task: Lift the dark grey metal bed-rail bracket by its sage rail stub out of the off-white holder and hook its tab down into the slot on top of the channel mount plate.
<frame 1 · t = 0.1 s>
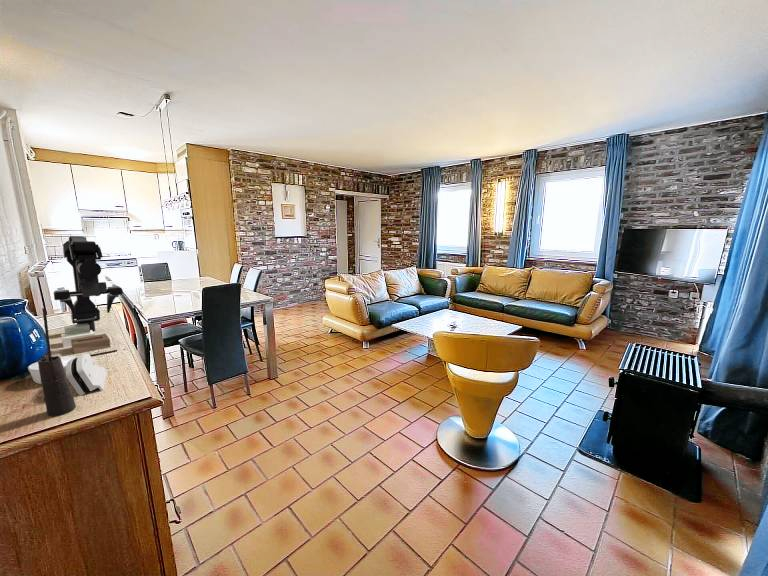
hand: (92, 314, 118), 15 cm above the table, tool pointing down, fingers open, 9 cm apart
butter churn: (59, 410, 80), on the table
bracket holder: (79, 345, 124), on the table
channel mount plate: (91, 351, 119), on the table
rail bracket: (79, 342, 124), point 1 cm above the table, touching bracket holder
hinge: (88, 384, 94), on the table
ramekin: (57, 378, 97), on the table
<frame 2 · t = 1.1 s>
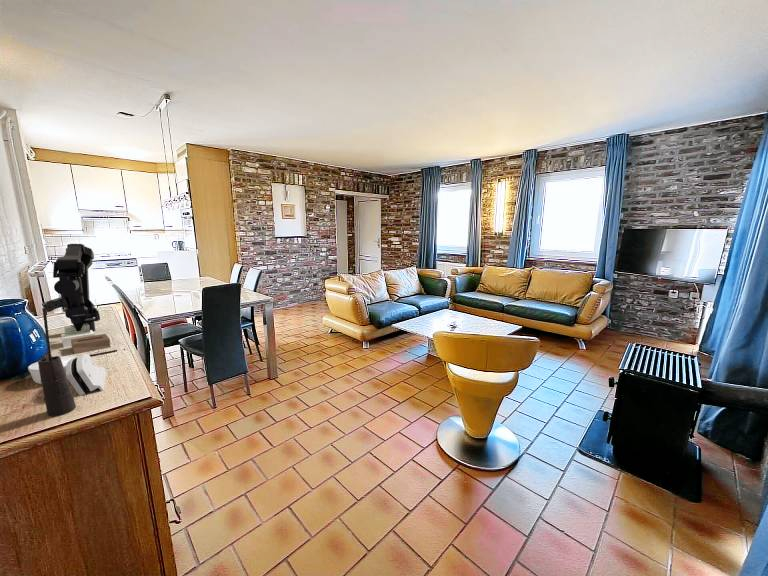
hand: (77, 328, 123), 7 cm above the table, tool pointing down, fingers open, 9 cm apart
nothing on the table moved.
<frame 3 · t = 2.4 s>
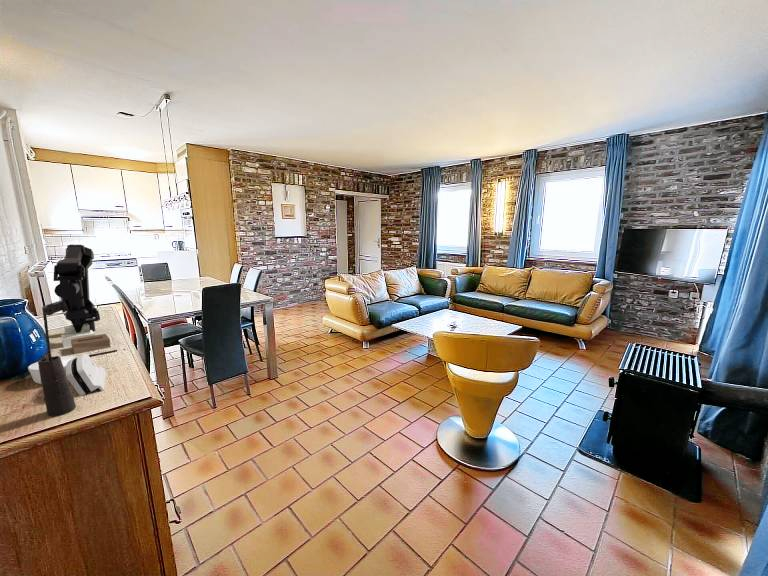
hand: (77, 331, 123), 6 cm above the table, tool pointing down, fingers closed on rail bracket, 4 cm apart
rail bracket: (79, 342, 124), point 1 cm above the table, touching bracket holder, gripper
everything else where it was.
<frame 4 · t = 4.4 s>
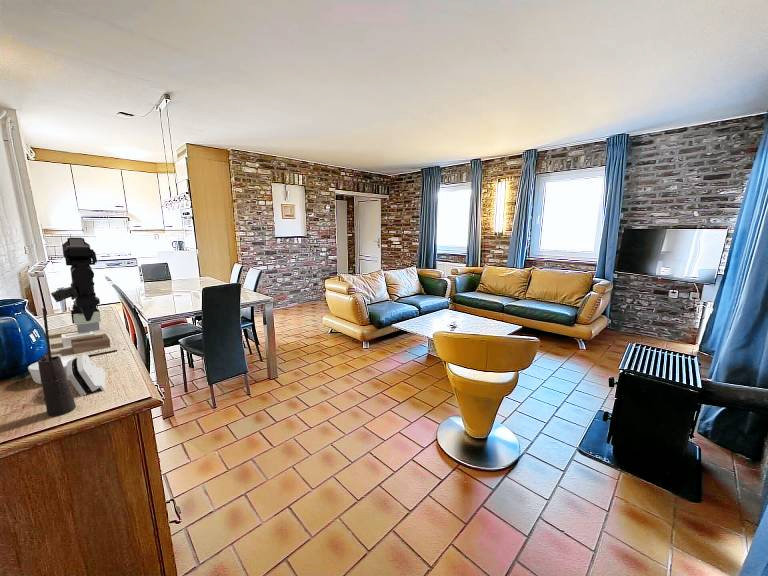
hand: (87, 320, 117), 13 cm above the table, tool pointing down, fingers closed on rail bracket, 4 cm apart
rail bracket: (88, 331, 118), point 8 cm above the table, touching gripper
everything else where it was.
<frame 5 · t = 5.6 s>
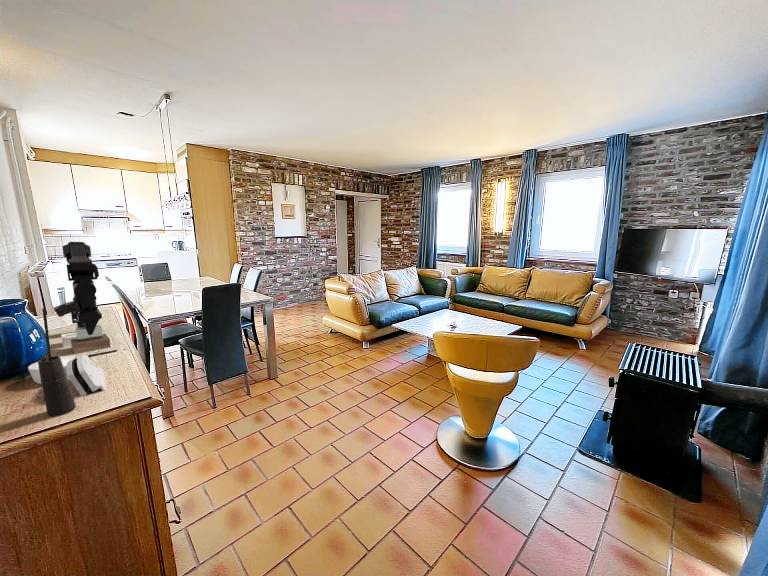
hand: (89, 333, 118), 7 cm above the table, tool pointing down, fingers closed on rail bracket, 4 cm apart
rail bracket: (90, 344, 119), point 3 cm above the table, touching gripper
everything else where it was.
when the fingers open (7 cm above the table, at t = 6.6 s): rail bracket moves 1 cm, resting on channel mount plate.
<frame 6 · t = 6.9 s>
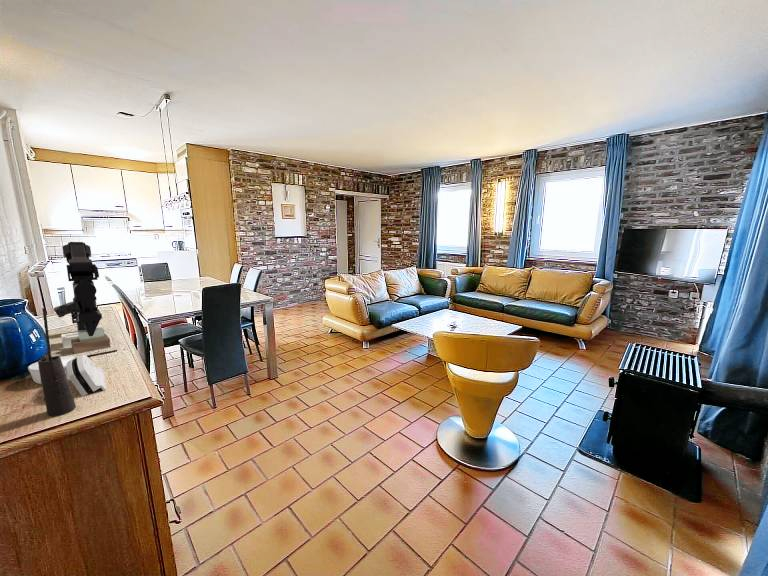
hand: (89, 334, 118), 7 cm above the table, tool pointing down, fingers open, 7 cm apart
rail bracket: (93, 347, 119), point 1 cm above the table, touching channel mount plate
everything else where it was.
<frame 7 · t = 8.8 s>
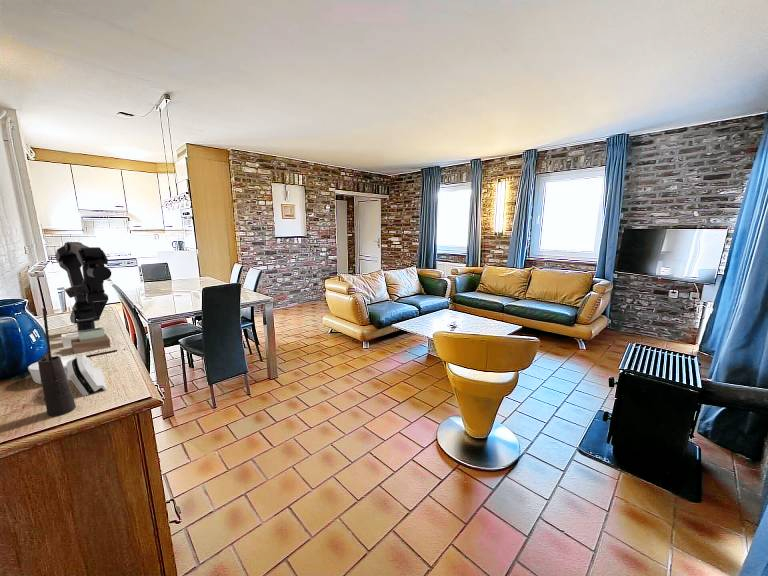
hand: (97, 314, 129), 12 cm above the table, tool pointing down, fingers open, 9 cm apart
nothing on the table moved.
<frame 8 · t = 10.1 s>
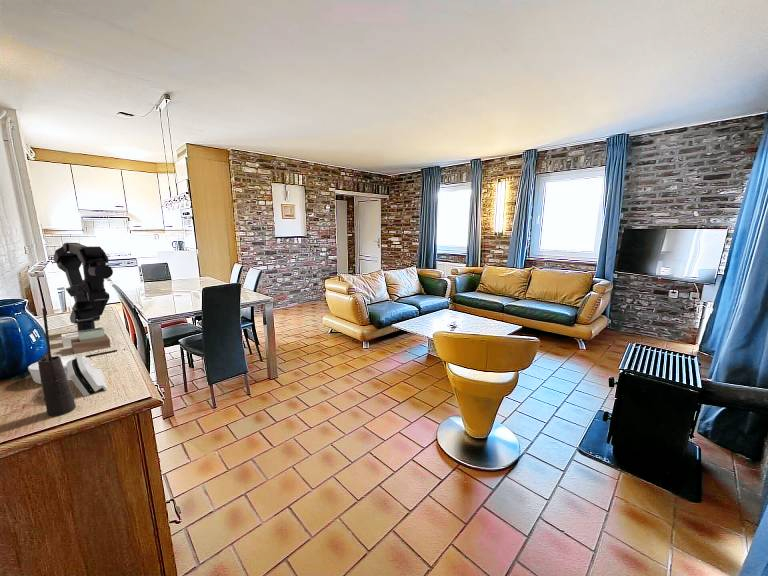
hand: (98, 313, 130), 12 cm above the table, tool pointing down, fingers open, 9 cm apart
at the end: rail bracket 0.5 cm off-centre on the channel mount plate, point 1.5 cm above the channel mount plate's base; rail bracket tilted 0°; the gripper is holding nothing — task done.
